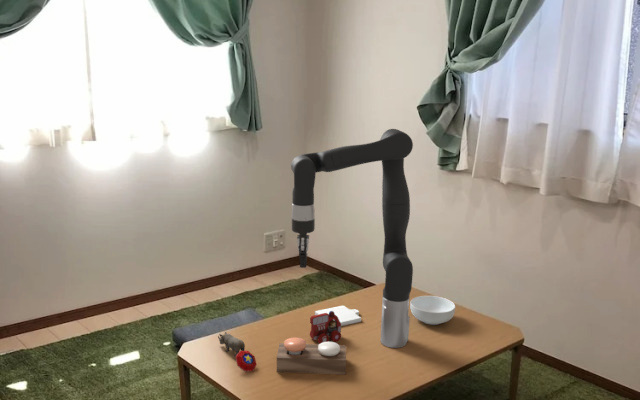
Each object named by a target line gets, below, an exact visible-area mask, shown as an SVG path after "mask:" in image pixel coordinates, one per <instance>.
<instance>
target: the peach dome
mask: <svg viewBox="0 0 640 400" xmlns="http://www.w3.org/2000/svg"><path fill="white" fill-rule="evenodd" d="M283 343H284V348H285V349H286V350H288V351H289V355H301V351H302V350H304V349H305V348H306V344H307V341H306V340H305V339H304V338H301V337H289V338H286V339H285V340H284V341H283Z"/></svg>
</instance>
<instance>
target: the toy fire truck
mask: <svg viewBox="0 0 640 400" xmlns="http://www.w3.org/2000/svg"><path fill="white" fill-rule="evenodd" d="M334 320H335V321H334ZM309 322H310V323H309V324H310V332H309V337H310V338H311V340H314V341H316V340H317V344H320V343H322V342H335V343H339V342H340V341H341V339H342V334H341V332H342V326H341V323H340V321H339V319H338V317H337V316H336V315H335V314H334V312H333V311H330V312H329V314H327V313H323V314H319V315H315V314H314V315H311V316H310V320H309ZM335 326H336V327H335Z"/></svg>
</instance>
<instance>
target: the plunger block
mask: <svg viewBox="0 0 640 400" xmlns="http://www.w3.org/2000/svg"><path fill="white" fill-rule="evenodd" d="M318 345H319V343H317V344H316V343H314V344H313V343H312V344H311V343H306V348H305V349H304V350H302V351H301V355H289V351H288V350H286V349H285V348H284V342H281V343H280V342H279V345H278V349H277V354H276V373H286V374H287V373H293V374H319V375H320V374H324V375H326V374H327V375H346V371H347V370H346V369H347V352H346V351H347V348H346V345H344V344H343V345H341V344H338V345H339V346H340V352H339V354H337V355H335V356H323V355H321V354H320V353H319V352H318Z"/></svg>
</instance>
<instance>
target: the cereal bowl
mask: <svg viewBox="0 0 640 400" xmlns="http://www.w3.org/2000/svg"><path fill="white" fill-rule="evenodd" d="M409 308H410V309H409V310H410V311H411V314H412V316H413V317H415V319H417V320H418V321H420V322H422V323H424V324H425V325H426V324H427V325H432V326H435V325H440V324H443V323H446V322H449V321H450V320H452V319H453V317H454V315H455V312H456V305H455V303H454V302H453V301H452V300H450V299H448V298H445V297H441V296H437V295H421V296H419V295H418V296H416V297H414V298H412V299H411V300H410V301H409Z"/></svg>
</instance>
